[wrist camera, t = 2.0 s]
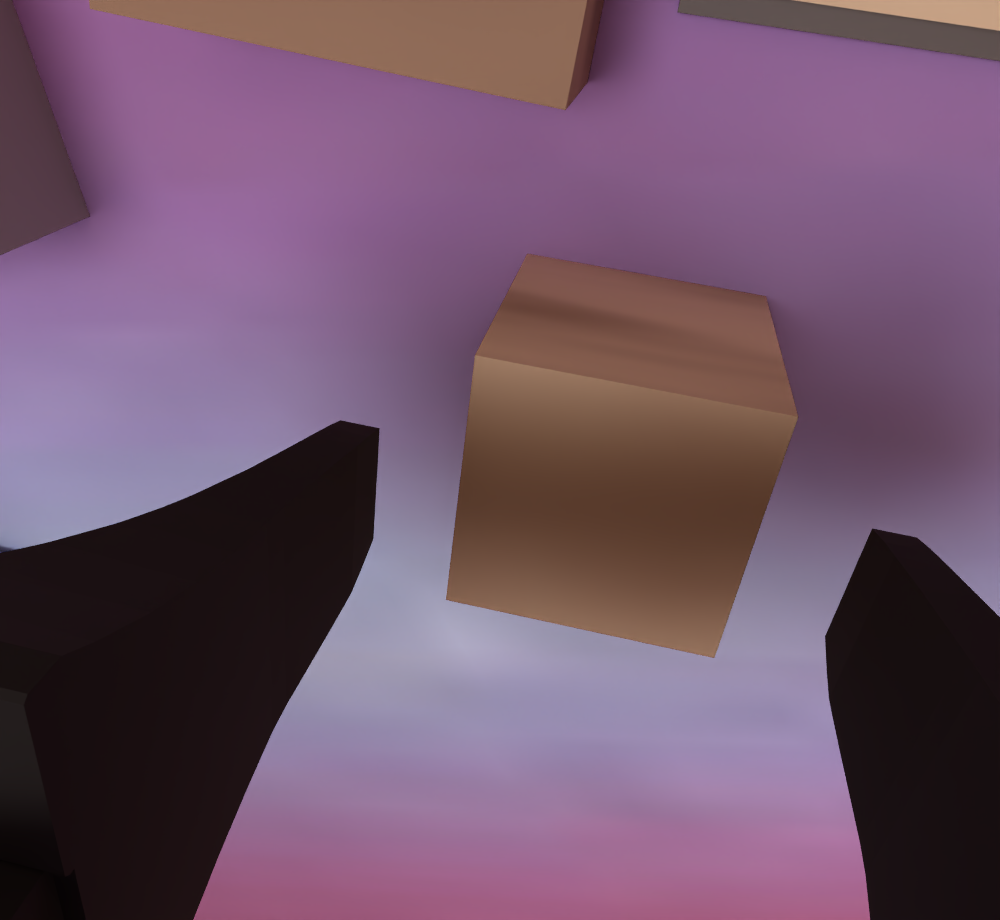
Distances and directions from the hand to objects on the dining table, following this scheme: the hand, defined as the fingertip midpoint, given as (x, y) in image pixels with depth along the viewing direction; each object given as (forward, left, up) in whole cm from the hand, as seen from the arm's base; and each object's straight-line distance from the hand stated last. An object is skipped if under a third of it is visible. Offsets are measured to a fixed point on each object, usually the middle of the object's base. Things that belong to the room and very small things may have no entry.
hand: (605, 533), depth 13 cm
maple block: (0, 0, -5) cm, 5 cm away
